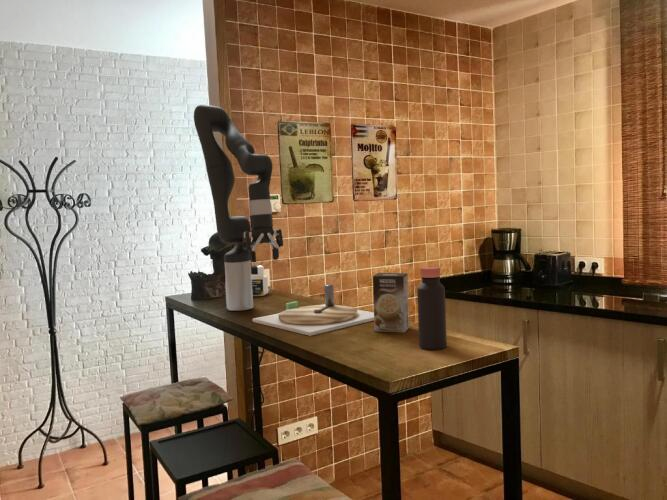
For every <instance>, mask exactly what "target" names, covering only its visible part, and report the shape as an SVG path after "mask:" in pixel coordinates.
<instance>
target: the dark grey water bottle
mask: <svg viewBox="0 0 667 500" xmlns="http://www.w3.org/2000/svg"><path fill="white" fill-rule="evenodd" d="M419 273H420V279H421V283H420V284H419V285H418V286H417V287H416V288H417V289H416V293H417V294H416V295H417V296H416V297H417V317H418V319H417V321H418V322H417V323H418V344H419V345H418V346H419V347H420V348H421V349H422V350H426V351H427V350H428V351H437V350H438V351H439V350H443V349H445V348H446V347H447V345H448V344H447V317H446V316H447V314H446V312H447V311H446V288H445V286H444V285H443V284H442V283H441V281H440V279H441V275H442V274H441V267H439V266H423V267H420V270H419Z"/></svg>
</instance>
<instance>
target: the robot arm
mask: <svg viewBox="0 0 667 500" xmlns="http://www.w3.org/2000/svg"><path fill="white" fill-rule="evenodd" d="M193 123H194V126H195V130H196V133H197V136H198V140H199V143H200V145H201V150H202V153H203V154H202V155H203V159H204V162H205V169H206V174H207V179H208V182H209V187H210V191H211V195H212V197H211V198H212V202H213V208H214V209H213V210H214V216H215V217H214V218H215V224H216V231H217V235H218V237H219V240H220V241H221V242H222V243H224V244H231V243H235V244H234V245H235V246H234V247H233V248H232V249H231V250H230V251H228V252H225V254H224V256H223V260H224V262H223V263H224V273H225V282H224V287H225V302H226V303H225V304H226V309H227V310H228V311H235V312H238V311H246V310H251V309H253V308H254V298H253V297H254V296H253V293H252V278H251V266H252V265H251V263H257V257H256V251H255V250H256V248H257V246H258V245H259V244H269V245H270V246H271V247H272V259H273V260H274V261H276V260H278V259H279V257H280V252H279V249H280V247H283V246H284V241H283V240H284V239H283V231H282V229H281V228H278V229H274V228H273V226H274V224H273V223H274V222H273V211H272V210H273V208H272V202H271V194H270V193H271V192H270V185H271V180H272V178H271V177H272V174H273V161H272V158H271V157H270V156H269V155H267V154H263V153H262V154H260V153H259V154H258V153H256V154H255V152H256V151H255V147H254V146H253V144H251V143H250V142H249V140H247V139H246V138H245V137H244V136H243V135H242V133H240V131H239V130H238V128H237V127H236V125H235V123H234V122H233V120H232V119H231V117H230V115H229V114H228V113H227V112H226V110H225V109H224V108H222V107H220V106H215V105H208V104H198V105H197V106H196V107H195V109H194V110H193ZM217 132H218V133H220V134H221V135H223V137H225V147H226V148H227V150H228V151H229V152H230V154H232V155H233V156H234V158H235V159H236V161H237V162H238V165H239V166H240V169H241V171H242V172H243V173H244V174H246V175H248V176H257V180H256V181H255V182H251V183H250V184H249V185H248V200H249V201H248V202H249V203H248V206H249V219H250V220H249V219H248V218H247V216H245V215H236V216H234V215H233V216H230V214H229V213H230V212H229V207H228V206H229V199H230V196H231V194H232V191H233V189H234V185H235V182H236V181H235V173H234V168H233V164H232V161H231V159H230V157H228V155H227V153H226V152H225V150H223V149H222V147H221V146H220V145H219V143H218V142H217V140H216V138H215V135H214V133H217ZM273 236H275V238H274V237H273Z"/></svg>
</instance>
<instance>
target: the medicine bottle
mask: <svg viewBox="0 0 667 500" xmlns="http://www.w3.org/2000/svg"><path fill="white" fill-rule="evenodd" d="M264 268H265V267H264V266H263V265H260V264H256V265H255V264H254V265H251V278H252V293H253V297H261V296H262V297H264V296H265V295H267V294H268V293H269V284H268V283H269V282H268V276H267V275H265V269H264Z"/></svg>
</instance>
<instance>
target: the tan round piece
mask: <svg viewBox="0 0 667 500" xmlns="http://www.w3.org/2000/svg"><path fill="white" fill-rule="evenodd" d="M323 287H324V301H325V302H324V304H325V305H322V304H316V305H314V304H313V305H306V306H304V305H303V306H299V307H297V308H292V309H288V310H286V309H284V310H283V311H280V312H279V315H278V316H279V320H280V321H282V322H286V323H291V324H327V323H335V322H341V321H345V320H349V319H352V318H354V317H356V316H357V310H358V309H357V308H355V307H354V306H348V305H338V304H335V295H334V292H335V291H334V284H328V283H327V284H324V286H323Z"/></svg>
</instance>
